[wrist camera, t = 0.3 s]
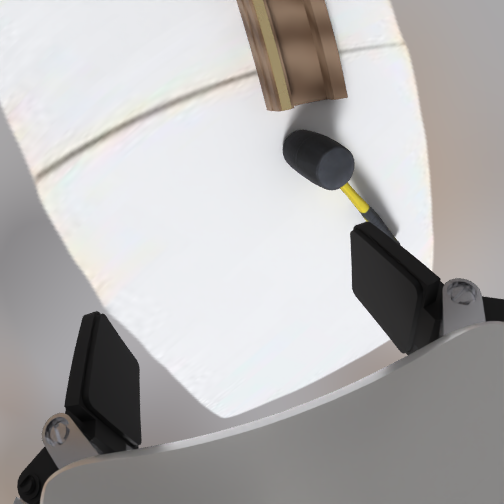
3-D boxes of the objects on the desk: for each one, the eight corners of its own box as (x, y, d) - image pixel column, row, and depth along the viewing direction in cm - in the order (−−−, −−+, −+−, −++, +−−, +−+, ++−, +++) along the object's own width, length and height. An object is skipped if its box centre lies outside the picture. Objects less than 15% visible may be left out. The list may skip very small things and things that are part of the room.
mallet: (400, 230, 52) (433, 255, 44) (380, 254, 54) (411, 282, 46) (299, 119, 38) (334, 128, 30) (271, 151, 39) (299, 168, 31)
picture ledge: (228, -24, 26) (235, -36, 22) (300, -30, 27) (313, -40, 23) (267, 110, 36) (277, 112, 33) (333, 95, 37) (349, 97, 34)
